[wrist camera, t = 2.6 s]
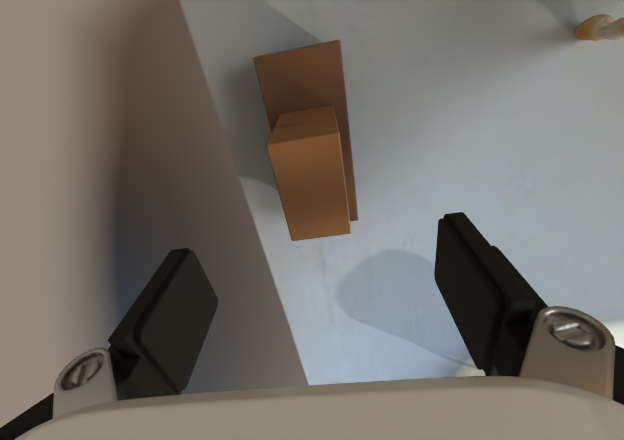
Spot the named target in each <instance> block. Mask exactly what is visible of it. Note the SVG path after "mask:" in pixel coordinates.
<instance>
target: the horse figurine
mask: <svg viewBox="0 0 624 440" xmlns="http://www.w3.org/2000/svg"><path fill="white" fill-rule="evenodd" d="M575 37H576V38H577V39H579V40H593V41H597V40H603V39H608V40H620V39H624V18H620V19H618V20H616V21H615V20H614V19H613V18H612V17H611V16H610V15H597V16H593V17H591V18H589V19H587V20H586V21H584V22H583V23H581V24H580V25H579V26H578V27H577V29H576V30H575Z"/></svg>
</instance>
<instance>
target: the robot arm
mask: <svg viewBox="0 0 624 440" xmlns="http://www.w3.org/2000/svg"><path fill="white" fill-rule="evenodd" d="M435 281H436V284H437V286H438V288H439V290H440V292H441V294H442V296H443V299H444V301H445V303H446V305H447V307H448V309H449V311H450V313H451V315H452V317H453V319H454V322H455V324H456V326H457V328H458V330H459V332H460V334H461V336H462V338H463V340H464V343H465V345H466V347H467V349H468V351H469V353H470V355H471V357H472V359H473V361H474V363H475V365H476V367H477V368H478V369H479V370H481V369H483V370H484V372H485V374H486V376H468V377H446V378H424V379H406V380H390V381H374V382H358V383H342V384H327V385H312V386H297V387H284V388H283V387H282V388H270V389H254V390H239V391H225V392H212V393H199V394H185V395H180V394H181V392H182V390H184V389H185V388H186V387H187V385H188V382H189V379H190V377H191V374H192V372H193V369H194V366H195V364H196V361H197V359H198V356H199V353H200V351H201V348H202V345H203V343H204V340H205V338H206V335H207V332H208V330H209V327H210V324H211V322H212V319H213V317H214V314H215V311H216V309H217V306H218V299H217V296H216V294H215V292H214V290H213V288H212V286H211V284H210V282H209V280H208V278H207V276H206V274H205V272H204V270H203V268H202V266H201V264H200V262H199V260H198V258H197V256H196V254H195V253H194V252H193V251H190V249H188V248H182V249H175V250H171V252H170V253H169V254H168V255H167V257H166V258H165V260H164V261H163V263H162V264H161V265H160V267H159V268H158V270H157V271H156V272H155V274H154V275H153V277H152V278H151V280H150V281H149V282H148V284H147V285H146V287H145V288H144V290H143V291H142V292H141V294H140V295H139V297H138V298H137V299H136V301H135V302H134V304H133V305H132V306H131V308H130V309H129V311H128V312H127V314H126V315H125V317H124V318H123V319H122V321H121V322H120V324H119V325H118V326H117V328H116V329H115V331H114V332H113V333H112V335H111V336H110V338H109V339H108V341H109V343H110V344H111V346H110V347H109V349H108V350H107V349H105V348H95V349H91V350H89V351H87V352H85V353H83V354H81V355H80V356H78V357H77V358H75V359H74V360H73V361H71V362H70V363H69V364H68V365H67V366H66V367H65V368H64V370H63V371H62V372H61V373H60V375H59V376H58V378H57V380H56V382H55V386H54V393H52V394H51V395H49V396H48V397H46V398H45V399H43V400H42V401H40V402H39V403H37V404H36V405H34V406H33V407H31V408H30V409H28V410H27V411H25V412H24V413H22V414H21V415H19V416H18V417H16V418H15V419H13V420H12V421H10V422H9V423H7V424H6V425H4V426H3V427H1V428H0V440H624V349H623V348H621V347H618V346H616V345H615V342H614V337H613V336H612V334H611V333H610V331H609V330H608V329H607V328H606V327H605V326H604V325H603V324H602V323H601V322H600V321H598V320H596V319H595V318H593V317H592V316H590V315H588V314H586V313H584V312H581V311H579V310H576V309H572V308H568V307H561V306H553V307H548V306H547V305H546V304H545V303H544V301H543V300H542V299H541V298H540V297H539V296H538V294H537V293H536V292H535V291H534V290H533V288H532V287H531V286H530V285H529V284H528V283H527V281H526V280H525V279H524V278H523V277H522V276H521V274H520V273H519V272H518V271H517V270H516V269H515V267H514V266H513V265H512V264H511V263H510V262H509V260H508V259H507V258H506V257H505V256H504V255H503V253H502V252H501V251H500V250H499V249H498V248H497V247H495V246H491V245H490V244H489V243H488V242H487V240H486V239H485V238H484V237H483V236H482V234H481V233H480V232H479V231H478V230H477V228H476V227H475V226H474V225H473V224H472V222H471V221H470V220H469V219H468V218H467V216H466V215H465V214H464V213H463V212H459V213H452V214H445V215H444V218H443V219H440V220H439V222H438V235H437V248H436V261H435Z"/></svg>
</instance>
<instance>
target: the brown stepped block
mask: <svg viewBox="0 0 624 440" xmlns="http://www.w3.org/2000/svg"><path fill="white" fill-rule="evenodd" d="M253 60H254V64H255V68H256V72H257V76H258V80H259V84H260V88H261V92H262V96H263V100H264V104H265V108H266V112H267V116H268V120H269V124H270V128H271V132H272V134H271V136H270V138H269V141H268V143H267V145H266V146H267V150H268V154H269V157H270V161H271V165H272V169H273V172H274V176H275V180H276V184H277V187H278V191H279V195H280V199H281V202H282V206H283V210H284V214H285V217H286V221H287V225H288V229H289V232H290V236H291V240H292V241H297V240H305V239H312V238H320V237H328V236H335V235H343V234H350V233H351V225H350V221H355V220H358V212H357V202H356V192H355V182H354V172H353V162H352V152H351V143H350V133H349V123H348V113H347V103H346V93H345V83H344V73H343V64H342V54H341V44H340V40H334V41H330V42H325V43H320V44H315V45H310V46H305V47H300V48H295V49H290V50H286V51H281V52H276V53H271V54H266V55H261V56H257V57H255V58H253Z"/></svg>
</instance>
